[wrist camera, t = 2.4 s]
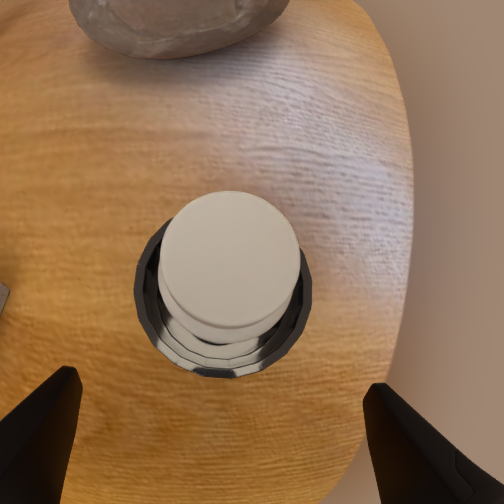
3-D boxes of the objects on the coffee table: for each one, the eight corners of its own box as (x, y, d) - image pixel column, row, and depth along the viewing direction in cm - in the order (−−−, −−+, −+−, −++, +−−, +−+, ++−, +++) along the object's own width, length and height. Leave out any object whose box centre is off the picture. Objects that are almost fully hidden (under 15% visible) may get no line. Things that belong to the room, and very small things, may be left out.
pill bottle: (247, 243, 21) (279, 159, 12) (279, 327, 20) (342, 305, 10) (163, 270, 20) (127, 200, 10) (192, 357, 18) (175, 366, 9)
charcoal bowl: (261, 391, 19) (276, 403, 14) (128, 336, 19) (106, 332, 14) (308, 263, 22) (332, 241, 17) (185, 212, 21) (180, 179, 17)
